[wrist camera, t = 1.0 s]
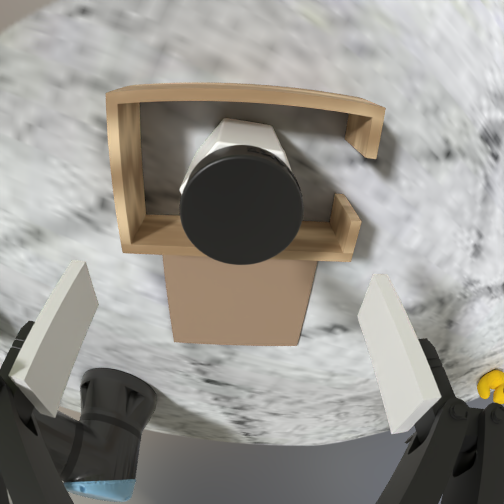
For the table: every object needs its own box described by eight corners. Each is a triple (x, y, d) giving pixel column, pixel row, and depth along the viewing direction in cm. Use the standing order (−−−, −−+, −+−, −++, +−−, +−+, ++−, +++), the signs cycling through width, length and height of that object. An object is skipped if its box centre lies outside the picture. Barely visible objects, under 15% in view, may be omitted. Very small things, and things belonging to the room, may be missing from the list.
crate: (336, 230, 35) (350, 261, 30) (138, 222, 34) (122, 253, 29) (360, 97, 27) (385, 108, 22) (129, 85, 26) (105, 92, 21)
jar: (294, 185, 32) (319, 251, 22) (220, 210, 34) (211, 283, 24) (266, 103, 27) (281, 130, 18) (185, 133, 29) (154, 177, 19)
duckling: (509, 359, 58) (524, 388, 49) (501, 371, 61) (515, 399, 52) (477, 373, 59) (492, 405, 50) (470, 385, 62) (483, 416, 53)
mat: (296, 344, 46) (296, 345, 46) (174, 340, 45) (174, 341, 45) (320, 241, 36) (321, 242, 36) (161, 234, 35) (160, 236, 35)
